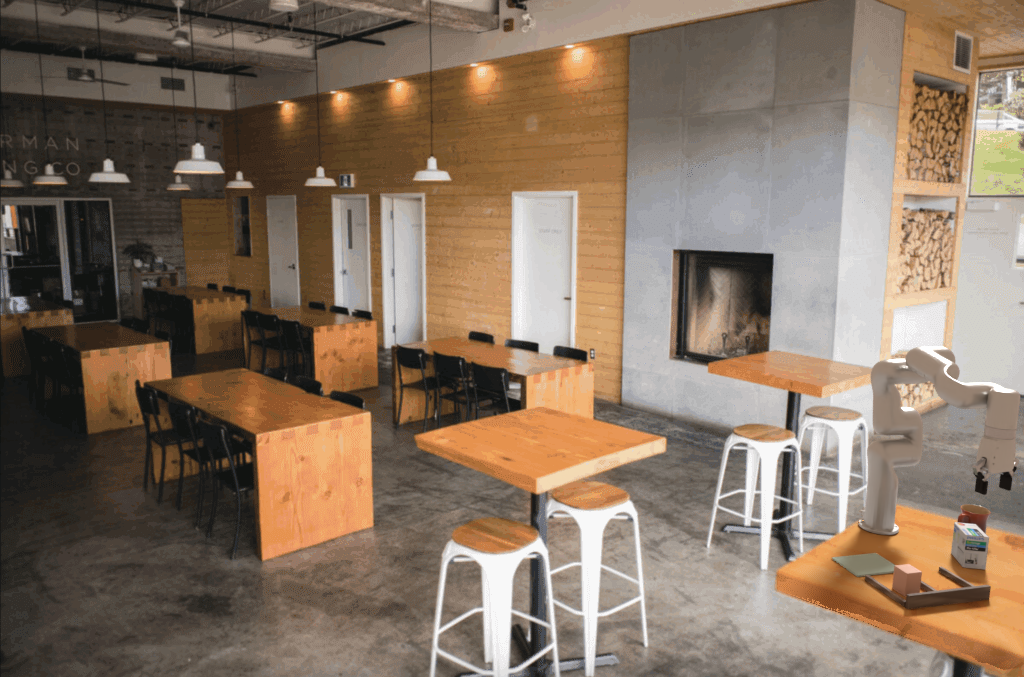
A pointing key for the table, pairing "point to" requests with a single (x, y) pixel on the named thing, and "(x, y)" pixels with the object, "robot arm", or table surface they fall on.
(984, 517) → the mug
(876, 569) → the mat
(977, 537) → the light bulb box
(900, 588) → the block
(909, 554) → the table surface
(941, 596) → the lane rack
